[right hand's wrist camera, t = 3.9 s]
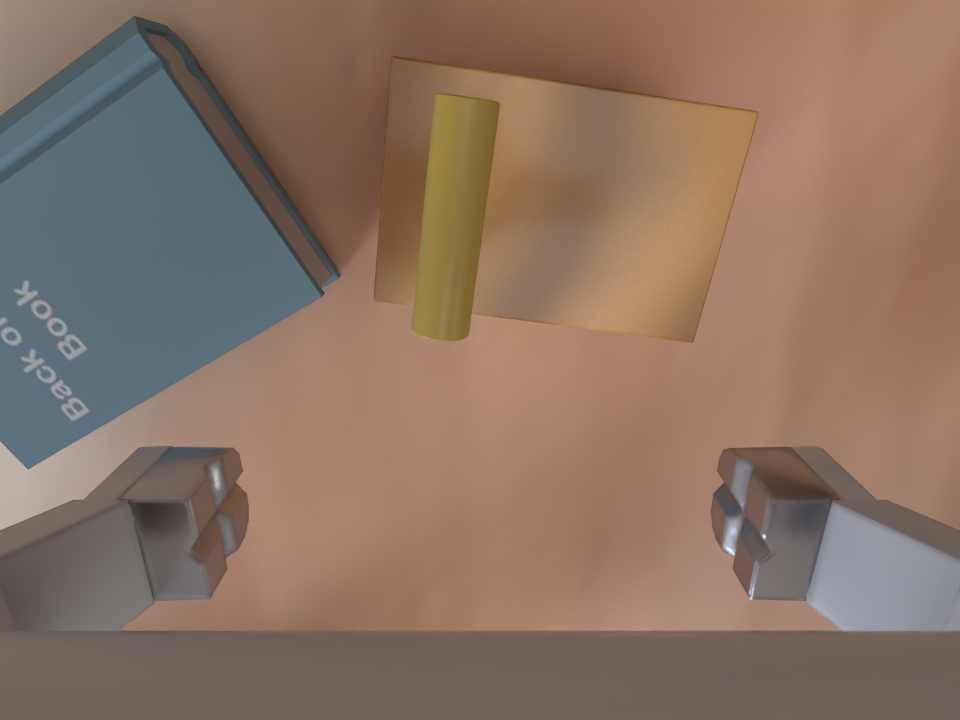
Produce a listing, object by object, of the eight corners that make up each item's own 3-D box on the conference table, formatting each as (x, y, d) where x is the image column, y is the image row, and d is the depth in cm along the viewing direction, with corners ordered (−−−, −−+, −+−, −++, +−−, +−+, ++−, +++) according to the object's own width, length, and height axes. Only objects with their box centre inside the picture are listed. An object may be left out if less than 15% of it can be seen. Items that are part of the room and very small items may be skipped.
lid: (377, 294, 28) (335, 364, 20) (395, 58, 24) (352, 27, 16) (685, 335, 29) (766, 418, 21) (748, 111, 25) (875, 107, 17)
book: (77, 431, 42) (28, 469, 38) (-107, 233, 37) (-191, 249, 33) (340, 275, 38) (321, 296, 34) (174, 28, 33) (124, 12, 29)
